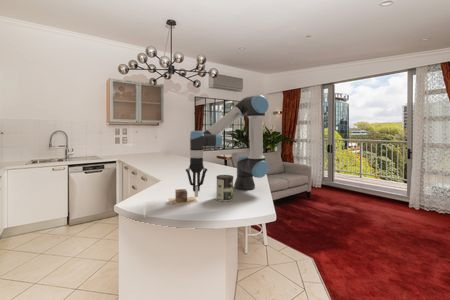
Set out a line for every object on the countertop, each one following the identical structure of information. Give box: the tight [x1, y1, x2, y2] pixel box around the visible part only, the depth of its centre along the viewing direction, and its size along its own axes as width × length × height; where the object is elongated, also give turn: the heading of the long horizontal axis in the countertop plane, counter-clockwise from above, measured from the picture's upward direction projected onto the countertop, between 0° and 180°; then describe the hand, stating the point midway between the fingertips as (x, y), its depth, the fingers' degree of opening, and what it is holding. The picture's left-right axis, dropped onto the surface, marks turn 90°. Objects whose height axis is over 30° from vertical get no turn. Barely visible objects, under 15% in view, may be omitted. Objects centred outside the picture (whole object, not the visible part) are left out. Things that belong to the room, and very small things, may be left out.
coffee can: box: [215, 174, 234, 202], centre depth 143 cm, size 10×10×14 cm
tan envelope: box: [168, 196, 199, 206], centre depth 138 cm, size 16×12×1 cm
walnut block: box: [174, 188, 188, 203], centre depth 137 cm, size 6×6×6 cm
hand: (196, 196), depth 140 cm, fingers closed
